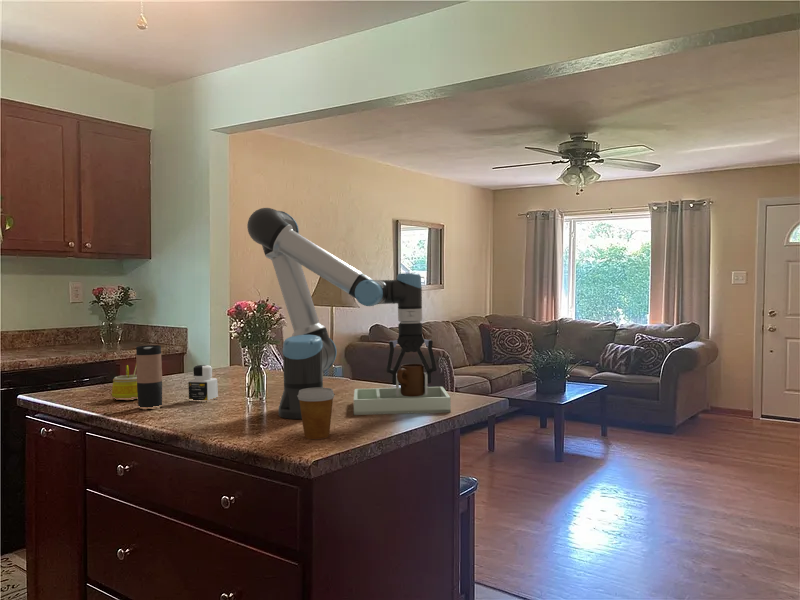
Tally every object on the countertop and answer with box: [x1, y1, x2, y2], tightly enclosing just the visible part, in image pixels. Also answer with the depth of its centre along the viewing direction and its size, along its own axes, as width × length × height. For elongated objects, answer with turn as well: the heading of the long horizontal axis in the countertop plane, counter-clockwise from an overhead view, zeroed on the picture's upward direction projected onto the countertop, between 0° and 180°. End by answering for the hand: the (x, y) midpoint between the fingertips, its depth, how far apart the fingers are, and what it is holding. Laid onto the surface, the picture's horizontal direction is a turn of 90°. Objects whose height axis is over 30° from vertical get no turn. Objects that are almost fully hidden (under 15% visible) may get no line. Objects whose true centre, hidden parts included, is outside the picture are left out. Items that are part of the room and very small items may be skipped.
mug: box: [396, 363, 425, 397], centre depth 204 cm, size 12×8×9 cm, turn 147°
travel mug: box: [135, 344, 163, 407], centre depth 210 cm, size 8×8×20 cm
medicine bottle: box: [187, 364, 219, 400], centre depth 223 cm, size 7×7×12 cm
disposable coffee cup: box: [297, 387, 336, 440], centre depth 167 cm, size 10×10×12 cm
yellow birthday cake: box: [111, 363, 138, 398], centre depth 228 cm, size 13×11×12 cm
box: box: [353, 386, 452, 416], centre depth 204 cm, size 29×20×4 cm
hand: (411, 394), depth 204 cm, fingers closed on mug, 8 cm apart
